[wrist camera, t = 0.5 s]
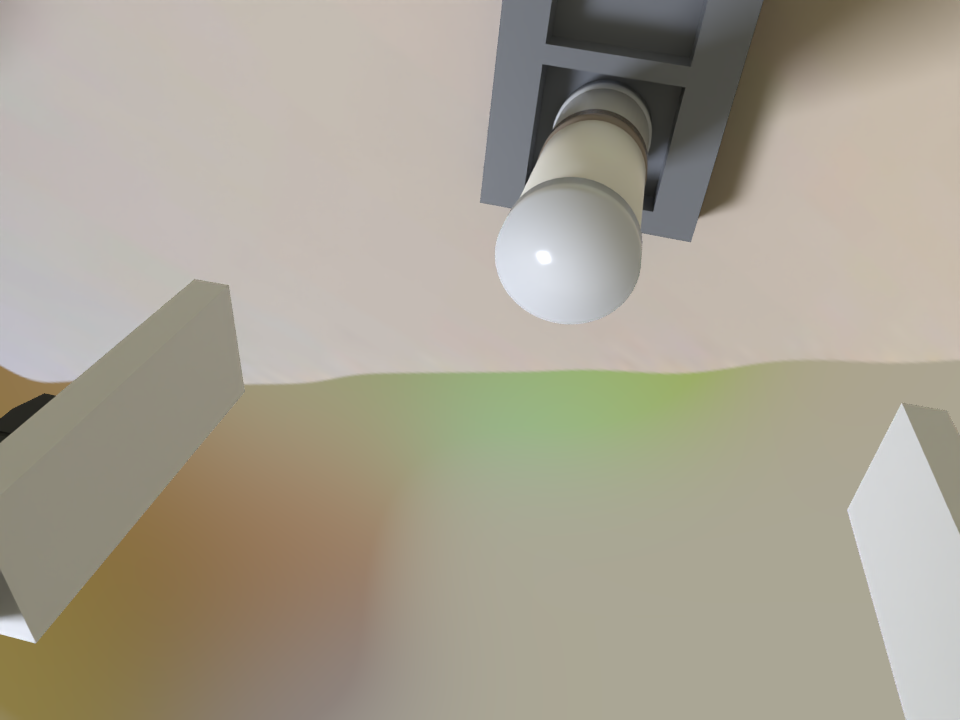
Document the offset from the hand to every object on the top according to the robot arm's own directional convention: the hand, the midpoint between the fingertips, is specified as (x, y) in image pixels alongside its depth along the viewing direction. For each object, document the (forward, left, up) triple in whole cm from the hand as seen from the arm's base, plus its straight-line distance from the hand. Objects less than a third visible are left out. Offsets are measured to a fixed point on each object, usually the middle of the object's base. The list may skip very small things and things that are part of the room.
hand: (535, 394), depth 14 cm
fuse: (0, -1, -22) cm, 22 cm away
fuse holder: (0, +2, -23) cm, 23 cm away
